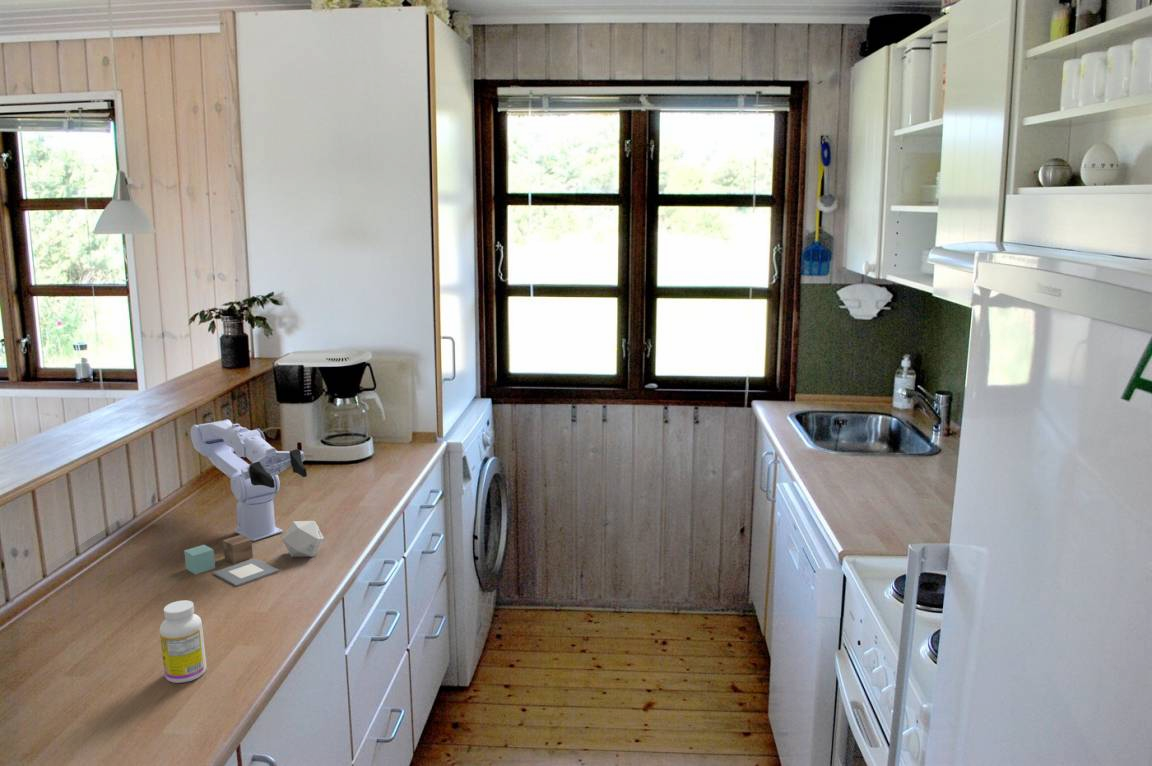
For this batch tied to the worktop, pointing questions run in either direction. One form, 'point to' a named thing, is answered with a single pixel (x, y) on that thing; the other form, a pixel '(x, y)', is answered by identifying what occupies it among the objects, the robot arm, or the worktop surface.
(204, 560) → the teal block
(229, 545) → the walnut block
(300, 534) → the die
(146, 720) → the worktop surface
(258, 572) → the grey square plate
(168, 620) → the supplement bottle
